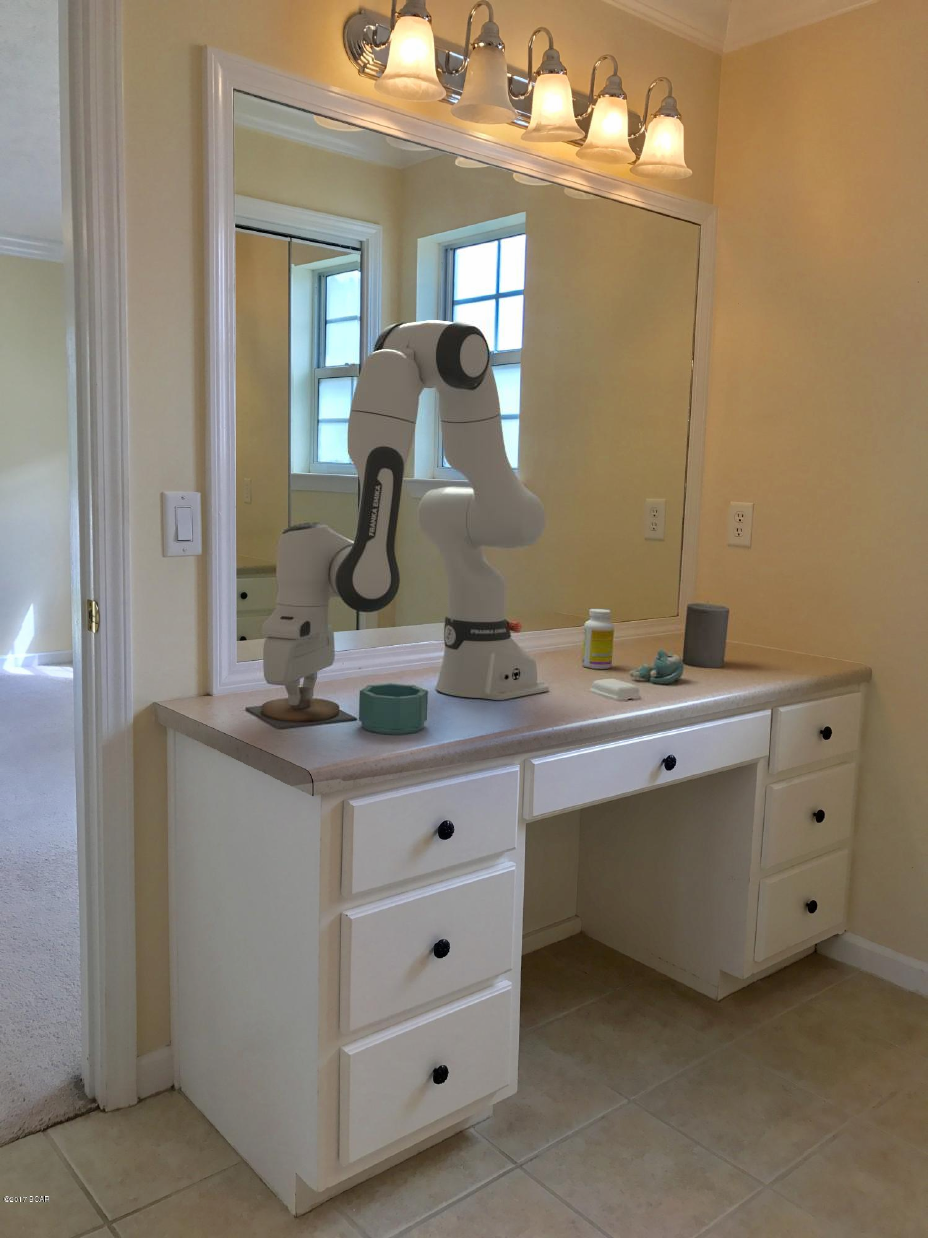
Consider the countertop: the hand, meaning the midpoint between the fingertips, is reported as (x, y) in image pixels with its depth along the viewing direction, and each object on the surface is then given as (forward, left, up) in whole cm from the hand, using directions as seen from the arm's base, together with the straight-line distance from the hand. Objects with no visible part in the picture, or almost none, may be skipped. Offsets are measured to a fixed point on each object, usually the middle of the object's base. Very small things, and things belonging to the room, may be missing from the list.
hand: (300, 701), depth 165 cm
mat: (0, 0, -2) cm, 2 cm away
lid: (0, 0, -2) cm, 2 cm away
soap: (-62, +10, -3) cm, 63 cm away
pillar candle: (-105, -6, -3) cm, 105 cm away
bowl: (-10, +13, -2) cm, 17 cm away
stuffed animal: (-81, +3, -3) cm, 81 cm away
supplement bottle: (-78, -13, -3) cm, 79 cm away
